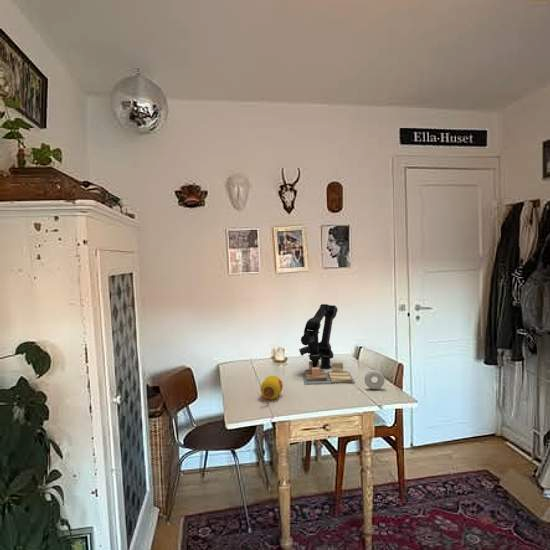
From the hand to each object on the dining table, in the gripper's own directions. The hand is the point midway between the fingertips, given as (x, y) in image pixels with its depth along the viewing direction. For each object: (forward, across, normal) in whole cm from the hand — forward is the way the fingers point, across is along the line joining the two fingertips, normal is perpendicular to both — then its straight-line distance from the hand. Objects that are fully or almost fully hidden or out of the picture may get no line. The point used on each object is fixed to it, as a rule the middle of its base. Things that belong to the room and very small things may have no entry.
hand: (314, 368), depth 243 cm
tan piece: (+3, +12, +13) cm, 18 cm away
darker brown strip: (+3, +8, 0) cm, 8 cm away
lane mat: (+3, +11, +6) cm, 13 cm away
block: (+1, +10, 0) cm, 11 cm away
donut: (+3, +32, +28) cm, 43 cm away
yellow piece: (+3, +39, -24) cm, 46 cm away
